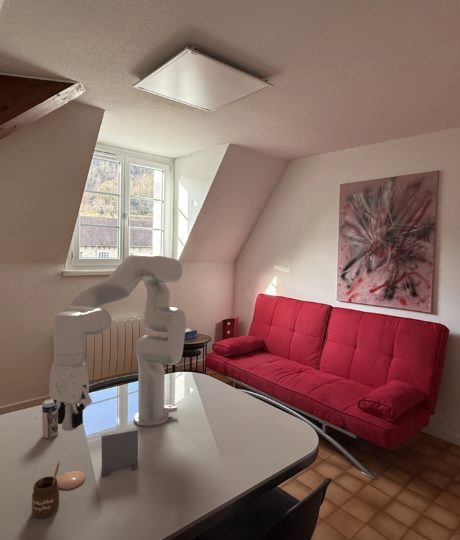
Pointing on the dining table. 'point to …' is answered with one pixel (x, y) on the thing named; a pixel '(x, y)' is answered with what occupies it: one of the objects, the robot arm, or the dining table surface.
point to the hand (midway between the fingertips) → (70, 423)
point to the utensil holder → (45, 495)
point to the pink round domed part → (71, 479)
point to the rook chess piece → (68, 417)
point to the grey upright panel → (119, 450)
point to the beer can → (49, 418)
